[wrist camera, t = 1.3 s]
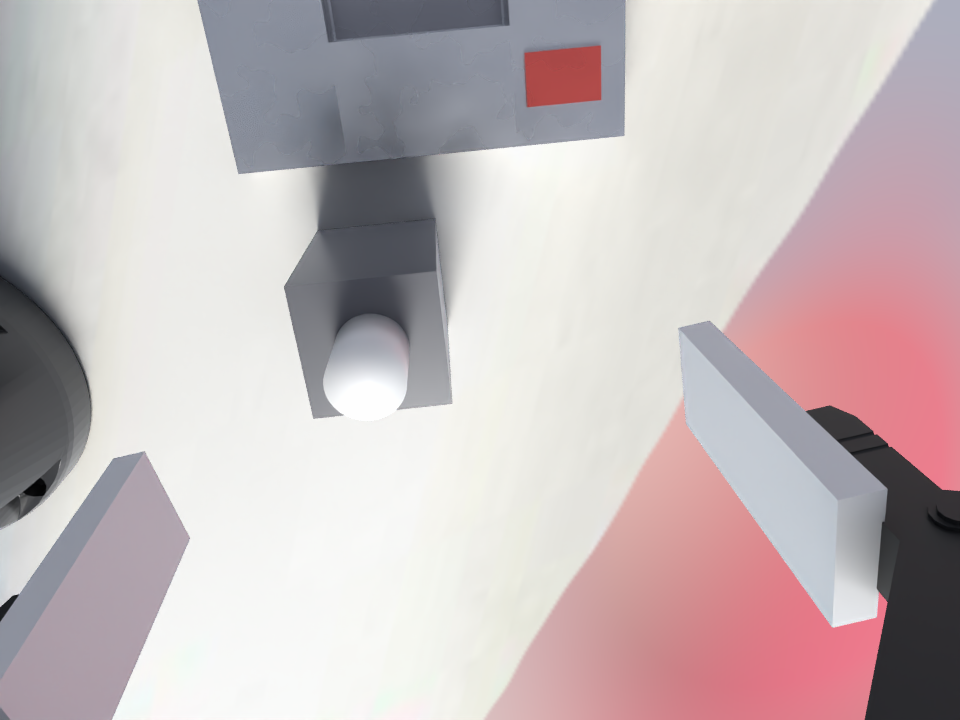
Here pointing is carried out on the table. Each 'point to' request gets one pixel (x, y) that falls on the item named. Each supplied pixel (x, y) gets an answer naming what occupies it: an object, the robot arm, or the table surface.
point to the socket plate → (412, 76)
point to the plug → (371, 320)
